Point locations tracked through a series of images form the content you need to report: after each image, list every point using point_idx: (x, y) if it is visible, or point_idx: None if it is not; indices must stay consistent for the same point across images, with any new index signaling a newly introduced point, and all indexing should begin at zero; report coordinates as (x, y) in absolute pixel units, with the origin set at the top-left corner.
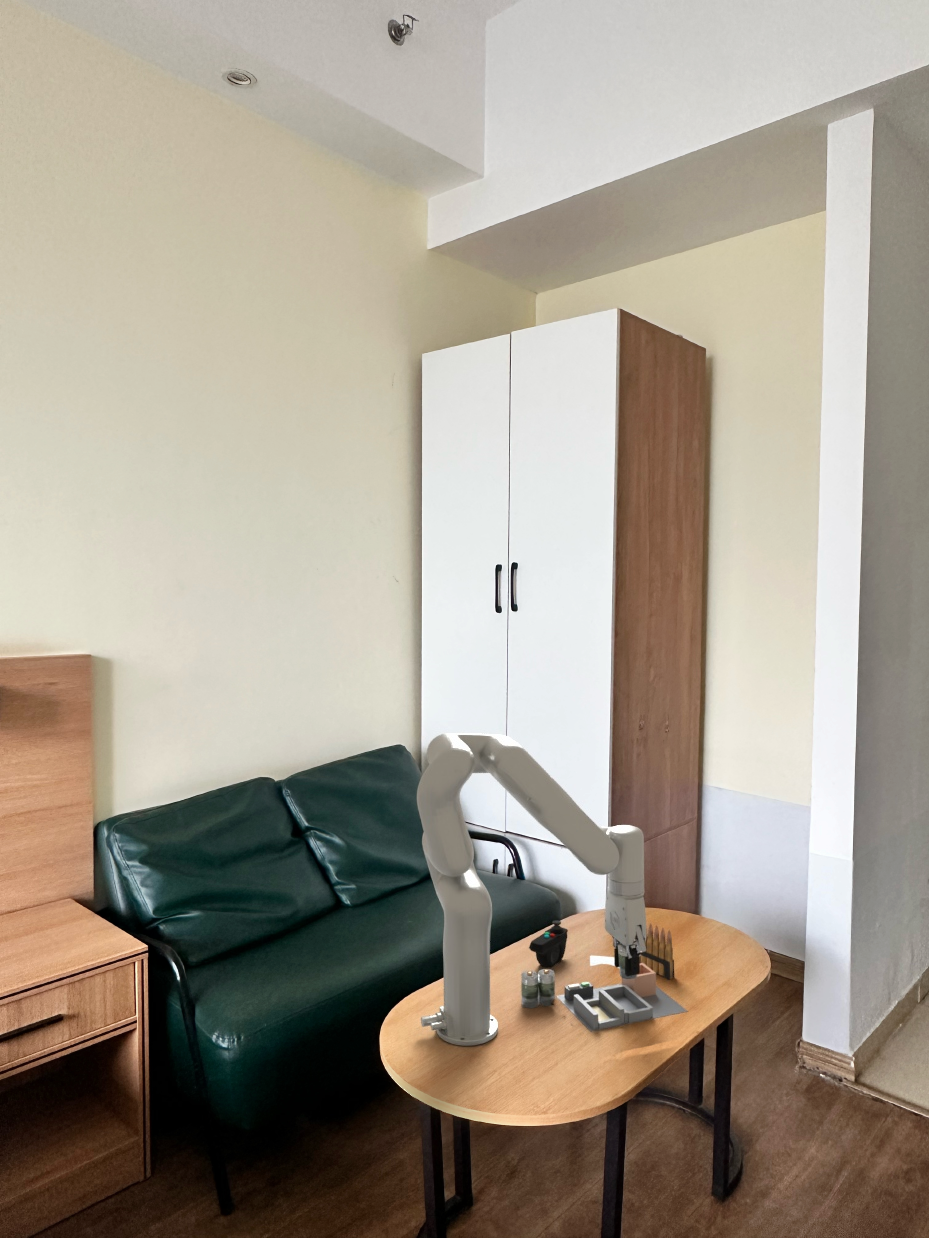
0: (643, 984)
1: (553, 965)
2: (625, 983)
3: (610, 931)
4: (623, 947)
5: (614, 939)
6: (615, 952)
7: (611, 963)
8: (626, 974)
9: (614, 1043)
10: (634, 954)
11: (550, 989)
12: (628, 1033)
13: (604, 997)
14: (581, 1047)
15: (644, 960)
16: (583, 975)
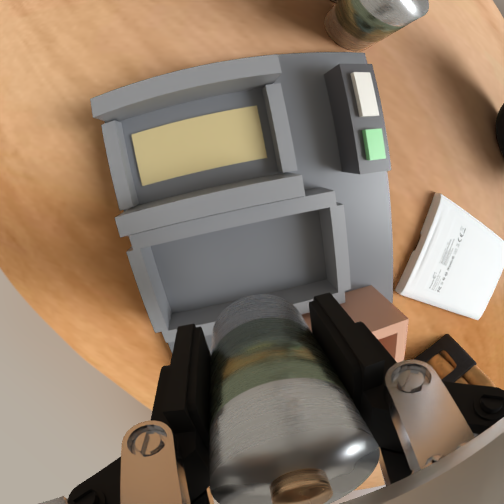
0: None
1: (500, 137)
2: (360, 302)
3: (493, 492)
4: (254, 464)
5: (436, 413)
6: (353, 349)
7: (474, 289)
8: (177, 329)
9: (60, 165)
10: (91, 478)
11: (346, 6)
12: (107, 224)
13: (247, 184)
14: (60, 67)
15: (439, 370)
16: (464, 201)
